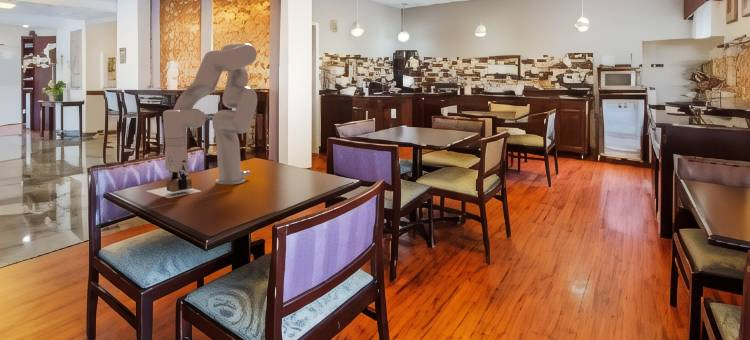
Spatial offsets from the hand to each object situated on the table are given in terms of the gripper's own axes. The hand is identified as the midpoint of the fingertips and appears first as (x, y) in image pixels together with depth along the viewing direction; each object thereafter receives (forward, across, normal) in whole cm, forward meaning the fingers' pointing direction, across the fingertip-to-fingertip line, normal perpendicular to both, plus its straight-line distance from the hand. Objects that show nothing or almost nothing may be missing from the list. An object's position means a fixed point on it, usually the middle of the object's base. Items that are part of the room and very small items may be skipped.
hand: (179, 187), depth 180 cm
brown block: (+1, 0, 0) cm, 1 cm away
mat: (+3, -5, 0) cm, 6 cm away
